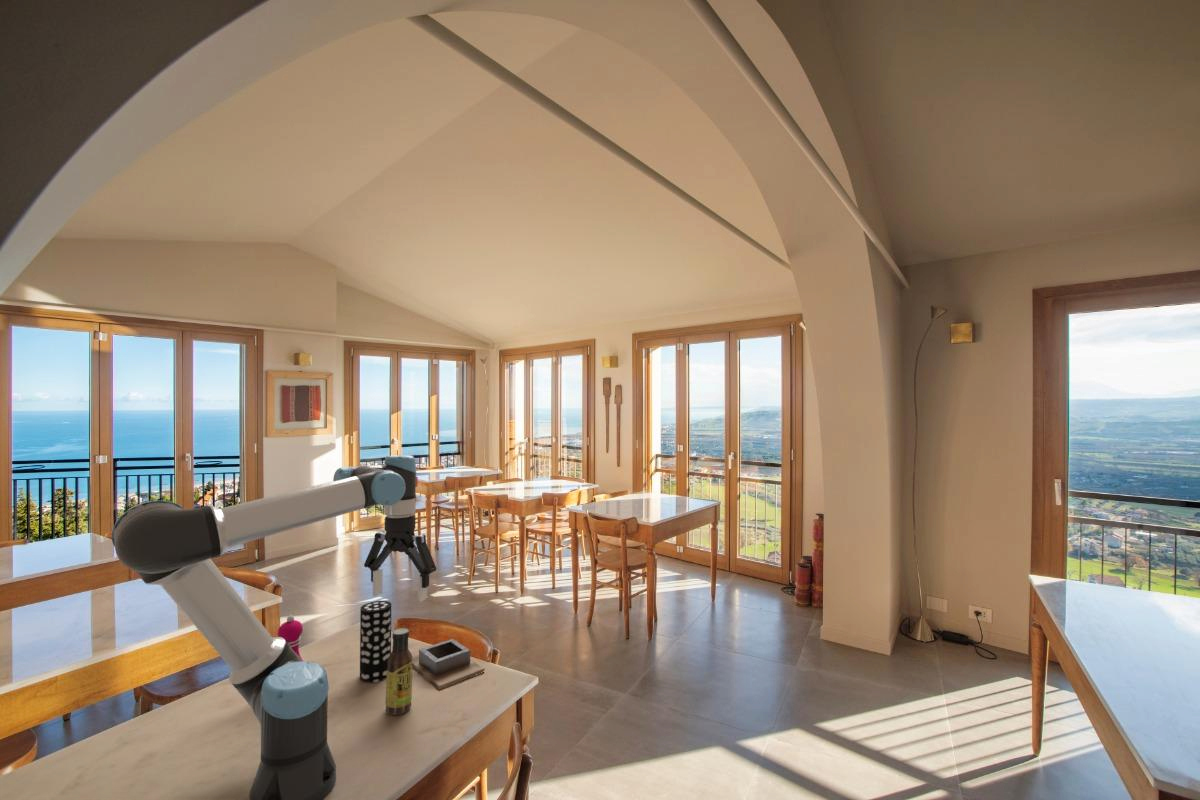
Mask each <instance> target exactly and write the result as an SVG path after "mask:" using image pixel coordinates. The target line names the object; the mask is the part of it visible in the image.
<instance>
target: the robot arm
mask: <svg viewBox="0 0 1200 800" xmlns="http://www.w3.org/2000/svg"><path fill="white" fill-rule="evenodd" d="M416 464H417V463H416V458H415V457H414V456H413V455H411V454H394V455H387V456H386V457H385V458H384V462H383V463H381V464H374V465H356V466H352V465H349V466H345V467H339V468H337V469H336V470H335V472H334V474H333V481H329V482H325V483H321V484H320V483H319V484H317V485H313V486H309V487H305V488H300V489H296V490H292V491H291V490H290V491H287V492H284V493H280V494H275V495H271V496H267V497H262V498H259V499H254V500H251V501H246V502H243V503H237V504H234V505H229V506H226V507H225V506H224V507H221V508H218V507H215V506H213V505H211V504H210V505H205V506H202V507H195V508H190V509H185V508H184V507H182V506H181V505H179V504H178V503H175V502H173V501H169V500H161V499H160V500H156V499H155V500H149V501H144V502H141V503H138V504H136V505H134V506H132V507H130V508H129V509H127V510H126V511H125V512H123V514H122V515H120V517H119V518H118V519H117V521H116V522H115V524H114V526H113V528H112V531H111V541H112V545H113V547H114V550H115V554H116V557H117V558H118V560H119V561H120V562H121V564H122V565H123V566H125V568H127V569H129V570H131V571H134V572H135V573H136V574H137V576H138V577H140V579H141V580H142V581H143V582H144V584H145V585H154V586H156V585H158V586H161V587H162V589H163V590H164V591H165V592H166V593H167V594H168V596H169V597H170V598H171V600H173V602H174V603H175V605H177V606H178V607H179V609H180V610H181V612H183V613H184V615H185V616H186V617H187V618H188V620H189V621H190V622H191V623H192V624H193V625H194V626H195V628H196V629H197V630H198V631H199V632H200V633H201V635H202V636H203V637H204V638H205V640H207V642H208V643H209V644H210V645H211V647H212V648H213V649H214V650H215V651H216V652H217V654H218V655H219V656H220V657H221V658H222V659H223V661H224V662H225V663H226V664H227V665H228V667H229V668H230V669H231V670H230V673H229V677H228V680H229V683H231V685H232V686H233V687H234V689H235V690H236V691H237V692H238V693H239V694H240V695H241V696H242V698H243V699H244V700H245V701H246V703H247V704H248V705H249V706H250V708H251V710H252V712H253V713H254V715H255V717H256V718H257V720H258V722H259V725H260V761H259V764H258V768H257V770H256V773H255V775H254V776H255V777H254V778H253V782H252V784H251V787H250V792H249V798H248V799H249V800H323V799H324V798H326V797H327V795H329V794H330V792H332V790H333V789H334V786H335V784H336V782H337V765H336V762H335V759H334V757H333V754H332V752H331V749H330V746H329V744H328V706H329V705H328V702H329V701H328V700H329V698H328V697H329V694H328V693H329V690H330V686H329V679H328V673H327V670H326V669H325V668H324V666H323V665H321V664H320V663H317V662H315V661H312V662H309V661H308V660H307V661H305V660H303V661H301V659H302V658H301V659H300V657H299V656H298V655H297V654H296V653H295V652H294V651H293V649H292V648H291V647H290V645H289V644H288V643H287V642H286V641H285V639H284V638H282V637H278V636H276V637H275V636H273V637H272V635H271V634H270V632H269V631H268V630H267V629H266V627H265V626H264V625H263V624H262V623H261V621H260V620H259V619H258V617H256V614H254V612H253V611H252V610H251V608H250V607H249V606H248V605H247V603H246V602H245V601H244V600H243V598H242V597H241V596H240V594H239V593H238V592H237V591H236V589H235V588H234V587H233V585H232V584H231V583H230V582H229V580H228V579H227V578H226V577H225V575H224V573H222V572H221V570H220V569H219V568H218V567H217V565H216V564H215V562H213V560H212V559H215V558H217V557H220V556H223V554H224V553H225V552H226V550H227V549H229V548H232V547H236V546H238V545H243V544H245V543H249V542H252V541H255V540H259V539H264V538H266V537H270V536H274V535H277V534H281V533H284V532H287V531H290V530H294V529H297V528H301V527H304V526H307V525H312V524H315V523H317V522H321V521H324V520H327V519H328V520H329V519H332V518H335V517H339V516H342V515H345V514H349V513H353V512H357V511H360V510H363V509H367V508H370V507H374V506H378V505H379V506H384V515H385V517H384V531H383V530H381V531H379V532H376V533H374V541H373V543H372V545H371V548H370V550H369V553H368V555H367V557H366V559H365V562H364V564H363V567H364V568H368V569H369V571H370V582H371V583H372V597H374V598H375V597H377V596H379V595H381V594H383V572H384V570H383V568H381V567H382V564H384V562H385V561H386V559H387V558H388V557H389V556H390V555H391V553H392V552H393V553H394V552H395V553H396V552H399V553H404V554H405V555H407V556H408V557H409V559H410V560H411V562H412V563H413V564H414V566H415V568H416V569H417V571H418V573H420V574H418V575H417V602H419V603H422V602H423V601H425V600H427V599H428V590H427V589H428V587H429V586H430V574H432V573H434V572H436V571H437V566H436V564H435V560H434V559H433V556H432V554H431V551H430V549H429V546H428V544H427V537H426V535H425V534H424V533H422V534H420V535H419V534H418V535H416V534H415V530H416V515H415V513H416V483H417V480H416V479H417V475H416V474H417V465H416ZM384 542H386V544H385V545H384V547H383V544H384ZM382 547H383V548H382ZM381 549H382V550H381ZM380 551H381V552H380Z"/></svg>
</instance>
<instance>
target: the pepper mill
mask: <svg viewBox="0 0 1200 800" xmlns="http://www.w3.org/2000/svg"><path fill="white" fill-rule="evenodd" d="M303 629H304V627H303V624H302V622H300V620H299V621H298V620H296V619H295V617H294V615H288V617H287V618H286V621H285V622H283V623H282V624H280V625H279V627H278V631H277V637H282V638H284V639H285V641H286V642H287V643H288V644H289V645H290V647H291V648H292V649H293V651H294V652H295V653H296V654H297V655H298V656H299V657H300V659H301V661H304V660H303V659H302V656H301V654H300V651H299V649H300V648H299V645H300V643H301V639H302V637H301V635H302V633H303Z"/></svg>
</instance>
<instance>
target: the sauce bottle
mask: <svg viewBox="0 0 1200 800" xmlns="http://www.w3.org/2000/svg"><path fill="white" fill-rule="evenodd" d="M409 637H410V630H409V629H408V628H405V627H404V628H397V629H394V630H393V631H392V634H391V639H392V646H391V654H390V656H389V657H388V661H387V678H386V681H385V684H386V686H385V711H386V713H387V714H388V715H390V716H391V715H392V716H394V715H395V716H396V715H397V716H398V715H401V714H404V713H406V712H408V711H409V710H410V709H411V706H412V696H413V695H412V694H413V667H412V666H413V660H412V656H413V654H412V652H411V651H410V649H409Z"/></svg>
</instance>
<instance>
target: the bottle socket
mask: <svg viewBox="0 0 1200 800" xmlns="http://www.w3.org/2000/svg"><path fill="white" fill-rule="evenodd" d="M418 654H419V663H420V664H421V665H422V666H423V667H424V668H426V669H427V670H428V671H429V672H431V673H432V674H433V675H434V676H435V677H436V676H438V675H441V674H444V673H447V672H449V671H452V670H455V669H457V668H460V667H463V666H466V665H468V664H470V659H471V650H470V649H469V648H468V647H466V646H464V645H463V644H461V643H460V642H458V641H457V640H455V639H454V638H451V639H447V640H445V641H441V642H439V643H435V644H432V645H429V646H425V647H423V648H420V649H418Z"/></svg>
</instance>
